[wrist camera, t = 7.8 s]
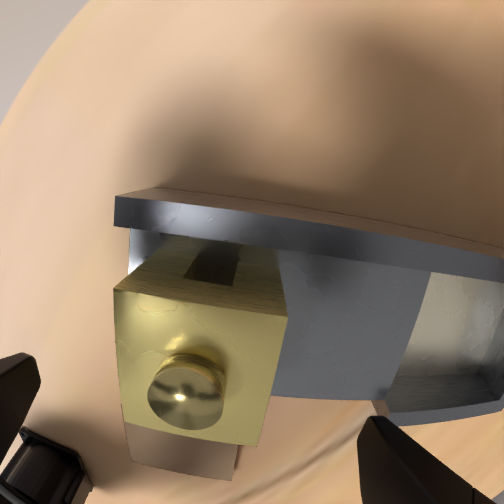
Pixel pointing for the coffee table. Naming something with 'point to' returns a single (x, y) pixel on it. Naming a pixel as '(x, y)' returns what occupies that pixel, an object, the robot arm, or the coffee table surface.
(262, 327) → the olive boxy piece
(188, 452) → the brown tile
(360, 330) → the rail
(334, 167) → the coffee table surface
